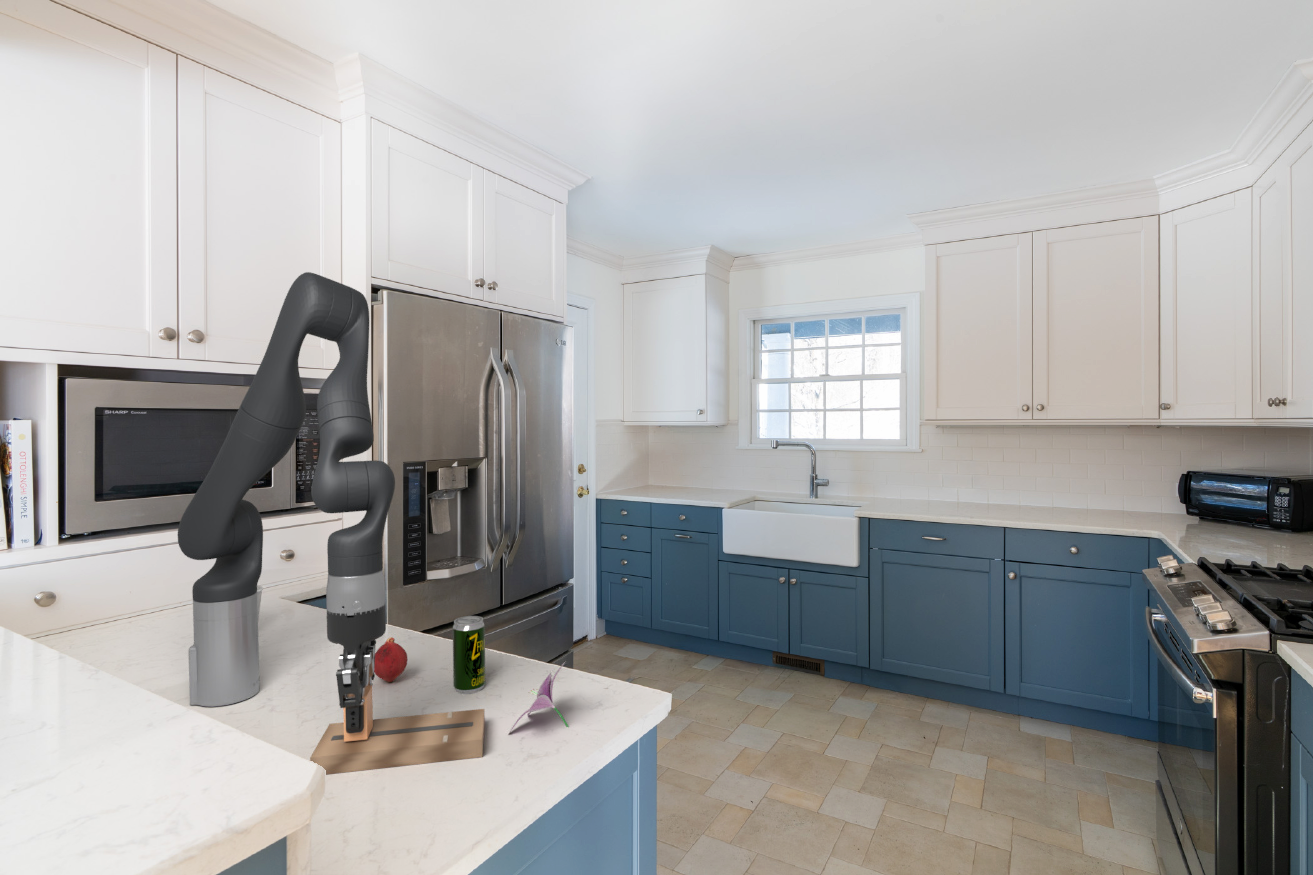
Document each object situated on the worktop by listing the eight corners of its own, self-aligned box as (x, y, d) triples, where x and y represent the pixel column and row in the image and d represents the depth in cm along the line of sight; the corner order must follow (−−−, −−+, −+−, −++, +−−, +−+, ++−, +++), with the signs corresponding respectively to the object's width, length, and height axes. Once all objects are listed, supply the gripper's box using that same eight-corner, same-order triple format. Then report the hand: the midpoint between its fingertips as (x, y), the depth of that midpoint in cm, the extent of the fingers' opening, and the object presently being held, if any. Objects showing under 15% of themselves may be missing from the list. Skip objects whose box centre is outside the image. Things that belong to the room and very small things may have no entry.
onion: (395, 689, 116) (394, 644, 116) (365, 687, 117) (364, 642, 117) (413, 677, 122) (413, 633, 122) (385, 674, 123) (384, 631, 123)
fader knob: (344, 741, 92) (343, 698, 92) (350, 728, 96) (349, 687, 96) (367, 739, 93) (366, 696, 93) (372, 726, 97) (372, 685, 96)
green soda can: (447, 692, 115) (446, 623, 115) (465, 680, 120) (464, 614, 120) (474, 696, 114) (473, 626, 113) (491, 683, 119) (490, 616, 118)
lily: (562, 708, 111) (532, 659, 111) (608, 699, 104) (577, 646, 103) (512, 760, 102) (480, 706, 101) (559, 754, 94) (524, 696, 94)
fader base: (310, 776, 88) (310, 756, 88) (329, 740, 98) (329, 722, 98) (482, 756, 93) (482, 738, 93) (484, 724, 103) (484, 707, 103)
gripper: (339, 592, 100) (342, 705, 100) (312, 620, 86) (315, 751, 86) (393, 589, 101) (395, 700, 102) (375, 616, 88) (377, 745, 88)
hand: (358, 723), depth 94 cm, fingers closed on fader knob, 4 cm apart
